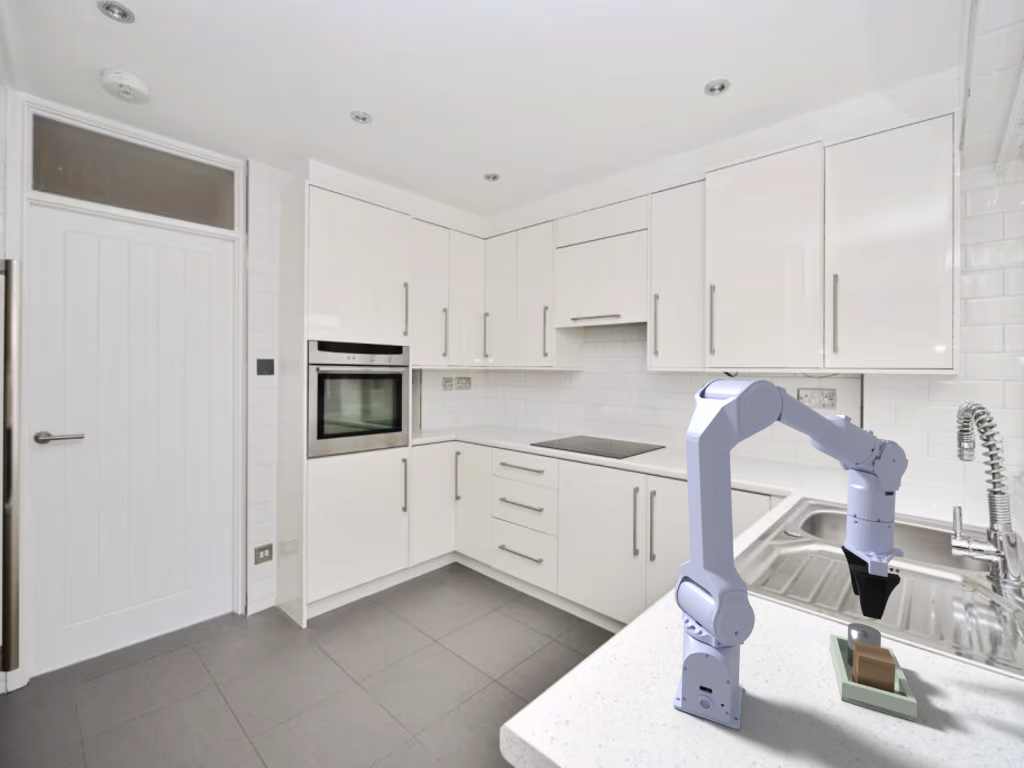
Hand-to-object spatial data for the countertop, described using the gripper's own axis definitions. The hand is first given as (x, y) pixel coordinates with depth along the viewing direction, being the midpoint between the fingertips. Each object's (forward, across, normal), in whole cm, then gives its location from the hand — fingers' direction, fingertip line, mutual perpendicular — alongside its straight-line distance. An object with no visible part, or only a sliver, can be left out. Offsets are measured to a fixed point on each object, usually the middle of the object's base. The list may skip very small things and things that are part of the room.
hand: (866, 605), depth 71 cm
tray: (+10, -3, 0) cm, 10 cm away
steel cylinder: (+9, 0, 0) cm, 9 cm away
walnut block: (+9, -6, 0) cm, 11 cm away
